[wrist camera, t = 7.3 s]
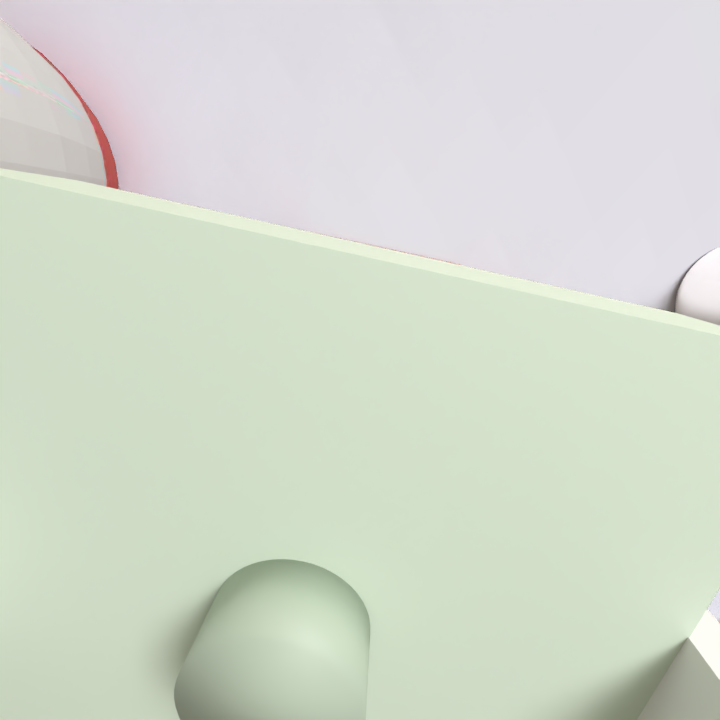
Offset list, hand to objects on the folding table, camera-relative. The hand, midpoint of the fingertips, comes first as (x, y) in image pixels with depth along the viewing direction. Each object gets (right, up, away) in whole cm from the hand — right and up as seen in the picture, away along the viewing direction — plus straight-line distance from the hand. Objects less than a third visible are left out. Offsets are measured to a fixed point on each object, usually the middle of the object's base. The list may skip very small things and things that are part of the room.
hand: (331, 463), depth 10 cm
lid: (0, 0, -1) cm, 1 cm away
